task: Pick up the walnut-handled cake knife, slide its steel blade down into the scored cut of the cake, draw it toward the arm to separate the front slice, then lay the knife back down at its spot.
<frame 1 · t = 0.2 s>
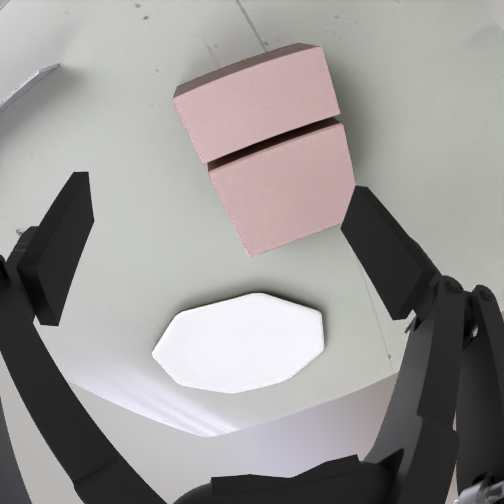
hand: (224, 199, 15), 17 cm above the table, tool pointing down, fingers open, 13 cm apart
cake slice: (249, 90, 27), on the table
plate: (240, 346, 53), on the table
cake: (278, 168, 33), on the table
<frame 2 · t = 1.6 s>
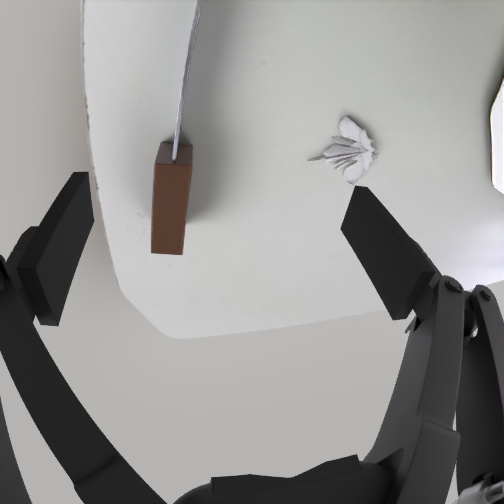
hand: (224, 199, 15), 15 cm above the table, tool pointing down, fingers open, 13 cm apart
cake knife: (172, 186, 30), on the table
flower: (338, 150, 31), on the table
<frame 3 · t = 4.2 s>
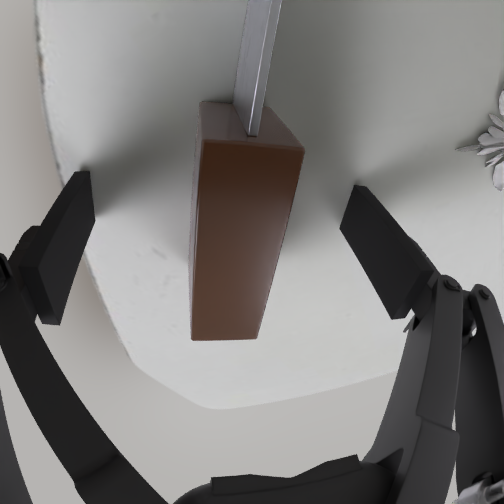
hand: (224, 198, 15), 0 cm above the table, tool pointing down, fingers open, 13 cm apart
cake knife: (223, 195, 15), on the table
flower: (489, 136, 15), on the table
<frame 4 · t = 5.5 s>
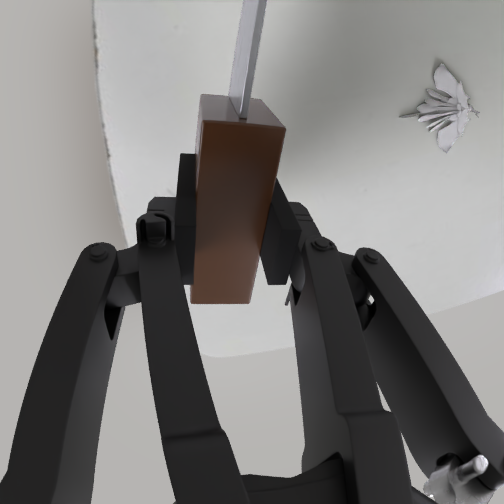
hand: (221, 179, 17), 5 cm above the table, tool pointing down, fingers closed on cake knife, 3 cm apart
cake knife: (221, 176, 17), point 5 cm above the table, touching gripper
flower: (430, 108, 21), on the table
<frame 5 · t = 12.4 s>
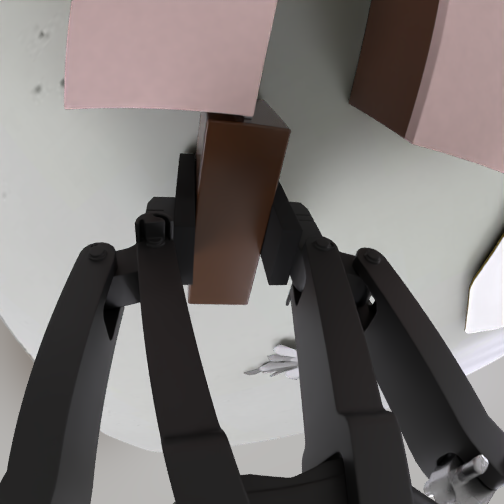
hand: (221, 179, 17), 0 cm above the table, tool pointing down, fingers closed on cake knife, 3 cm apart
cake knife: (221, 176, 17), on the table, touching cake slice, gripper
cake: (440, 34, 13), on the table
flower: (277, 358, 31), on the table
when the fingers open (0 cm above the table, at t = 18.9 s): cake knife stays where it is, on the table.
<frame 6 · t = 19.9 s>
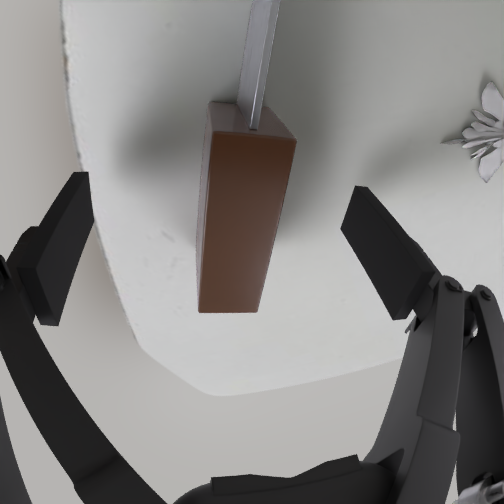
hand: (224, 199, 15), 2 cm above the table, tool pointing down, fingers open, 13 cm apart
cake knife: (228, 184, 17), on the table
flower: (474, 131, 17), on the table
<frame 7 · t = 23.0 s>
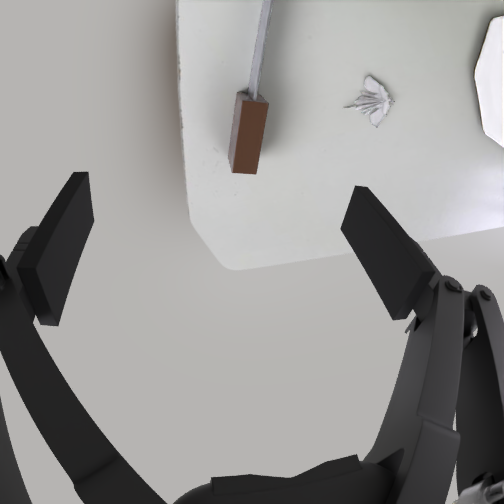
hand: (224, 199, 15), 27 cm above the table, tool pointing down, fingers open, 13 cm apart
cake knife: (243, 126, 39), on the table
flower: (364, 101, 39), on the table
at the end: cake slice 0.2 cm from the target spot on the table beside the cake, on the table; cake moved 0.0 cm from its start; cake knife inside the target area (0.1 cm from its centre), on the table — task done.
